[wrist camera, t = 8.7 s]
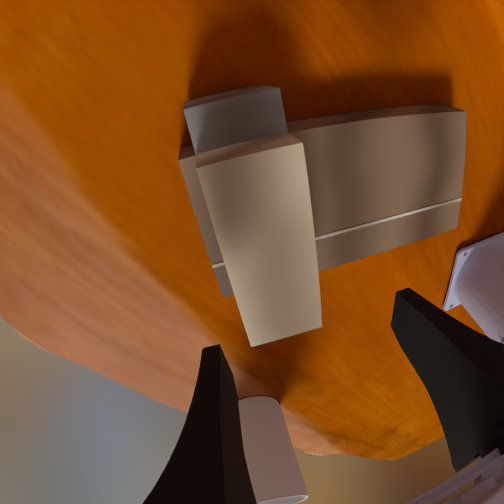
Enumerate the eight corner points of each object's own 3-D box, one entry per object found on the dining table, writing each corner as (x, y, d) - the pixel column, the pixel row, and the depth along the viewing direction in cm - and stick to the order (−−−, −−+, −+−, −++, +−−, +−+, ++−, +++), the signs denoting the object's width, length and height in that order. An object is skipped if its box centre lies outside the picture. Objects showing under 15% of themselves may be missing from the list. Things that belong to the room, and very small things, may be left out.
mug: (254, 387, 30) (280, 495, 20) (293, 403, 33) (321, 494, 23) (191, 423, 33) (202, 516, 23) (232, 435, 36) (248, 517, 26)
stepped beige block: (260, 84, 15) (294, 90, 10) (292, 264, 22) (322, 326, 17) (185, 101, 15) (181, 116, 10) (235, 280, 21) (251, 347, 17)
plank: (443, 104, 17) (466, 111, 15) (438, 213, 22) (457, 228, 20) (180, 148, 17) (178, 160, 14) (219, 274, 22) (223, 298, 20)
